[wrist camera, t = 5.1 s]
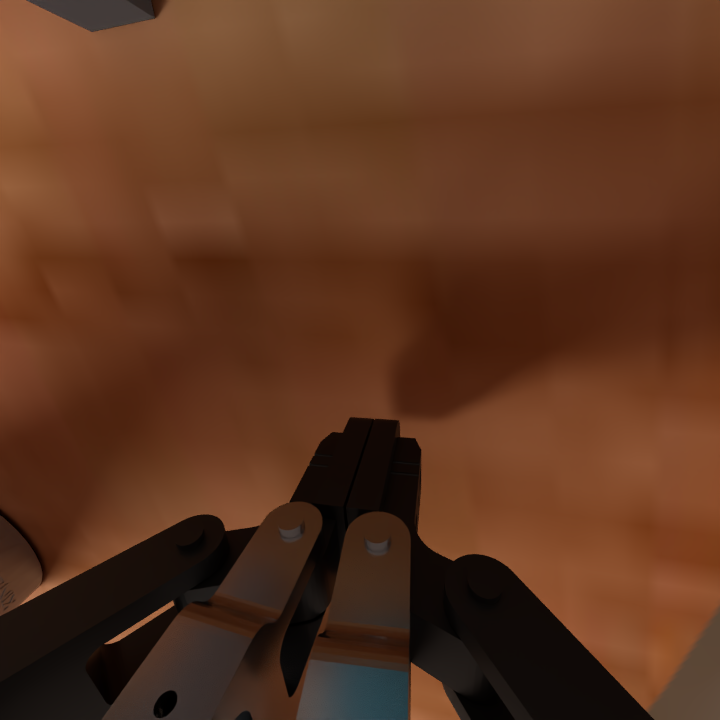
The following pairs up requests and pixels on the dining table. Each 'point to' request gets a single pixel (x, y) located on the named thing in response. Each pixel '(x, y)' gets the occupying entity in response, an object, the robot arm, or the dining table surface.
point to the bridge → (99, 12)
